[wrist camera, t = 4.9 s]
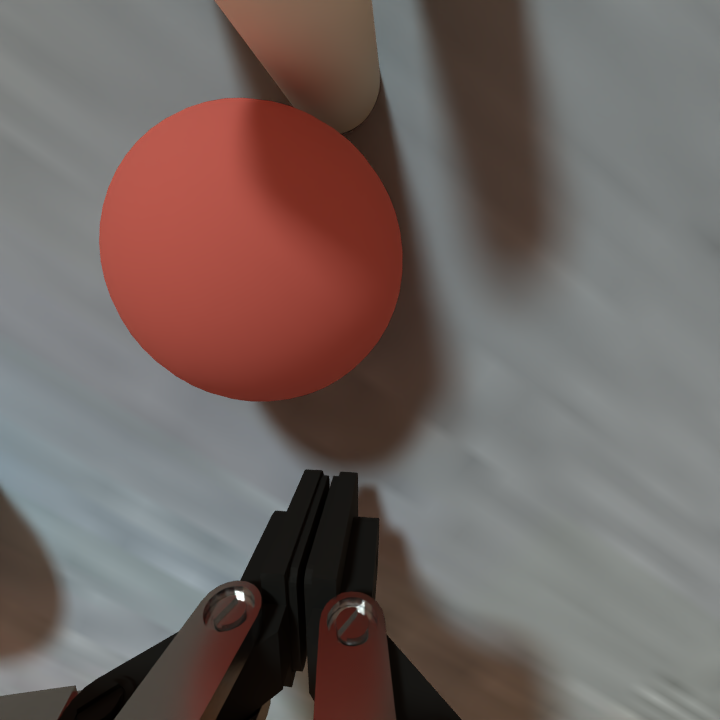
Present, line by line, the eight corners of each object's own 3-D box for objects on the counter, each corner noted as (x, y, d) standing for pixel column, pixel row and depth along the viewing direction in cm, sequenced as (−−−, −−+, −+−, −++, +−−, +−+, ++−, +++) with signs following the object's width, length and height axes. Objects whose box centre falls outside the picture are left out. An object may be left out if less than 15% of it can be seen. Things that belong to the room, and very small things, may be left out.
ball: (450, 405, 5) (412, 355, 11) (370, -59, 5) (375, 150, 11) (66, 473, 6) (225, 391, 12) (-62, 61, 5) (176, 197, 11)
